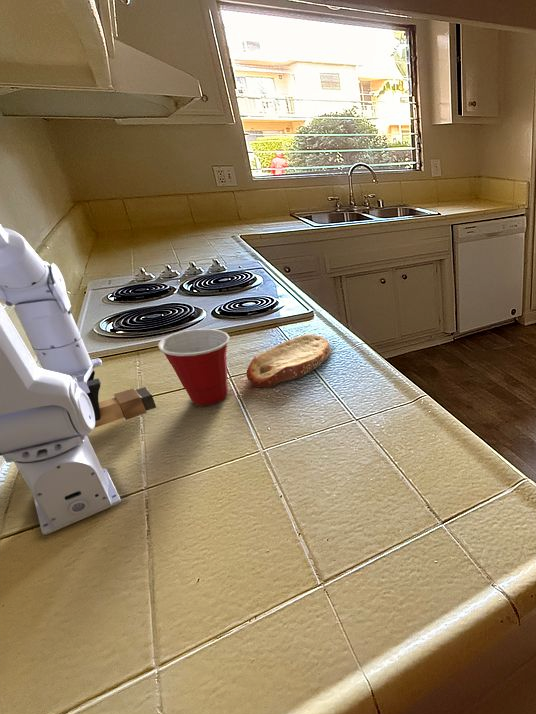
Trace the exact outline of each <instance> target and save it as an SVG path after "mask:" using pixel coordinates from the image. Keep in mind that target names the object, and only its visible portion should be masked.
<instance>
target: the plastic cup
mask: <svg viewBox="0 0 536 714" xmlns="http://www.w3.org/2000/svg"><path fill="white" fill-rule="evenodd" d="M230 339H231V337H230V335H229V334H228V333H227V332H225V331H223V330H220V329H213V328H194V329H188V330H183V331H182V330H181V331H179V332H176V333H172V334H169V335H167V336H165V337H164V338H162V339H161V340H160V341H159V342H158V344H157V346H158V349H159V351H160V352H162V353H163V354H164V356H165V357H166V359H167V361H168V362H169V364H170V365H171V367H172V369H173V370H174V372H175V374H176V376H177V378H178V380H179V381H180V383H181V386H182V387H183V390H185V392H186V393H187V395H188V397H189V399H190V400H191V401H192V402H193V404H194V405H197V406H202V407H203V406H211V405H214V404H217V403H219V402H221V401H223V400H224V399H226V398H227V396H228V391H229V389H228V388H229V387H228V364H227V363H228V361H227V360H228V359H227V352H228V351H227V349H228V343H229V342H230Z"/></svg>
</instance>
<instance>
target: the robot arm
mask: <svg viewBox="0 0 536 714" xmlns="http://www.w3.org/2000/svg"><path fill="white" fill-rule="evenodd" d="M0 300H1V302H2V303H3V304H4V305H5V306H7V307H12V306H14V307H13V310H14V311H15V312H14V313H15V314H16V316H17V318H18V320H19V323H20V325H21V327H22V329H23V331H24V333H25V336H26V337H27V341H28V342H29V344H30V346H31V348H32V350H33V352H34V354H35V357H36V359H37V360H38V363H39V365H40V367H39V366H38V364H37V363H36V361H35V359H34V357H33V356H32V354H31V352H30V351H29V348H28V347H27V346H26V344H25V341H24V340H23V339H22V337H21V335H20V333H19V332H18V330H17V328H16V327H15V325H14V323H13V322H12V320H11V319H10V317H9V315H8V313H7V311H6V310H5V308H4V306H3V305H2V303H1V302H0V457H1V456H2V458H3V459H4V461H5V462H6V463H7V464H8V463H14V465H15V466H16V468H17V470H18V472H19V473H20V475H21V477H22V478H23V479H22V480H23V481H24V482H25V484H26V486H27V487H28V490H29V491H30V493H31V495H32V497H33V502H34V505H35V510H36V514H37V519H38V523H39V526H40V527H39V528H40V531H41V533H42V535H45V536H46V535H49V534H53V533H54V532H56V531H59V530H61V529H63V528H66V527H68V526H70V525H73V524H75V523H78V522H79V521H81V520H84V519H86V518H89V517H91V516H93V515H95V514H97V513H100V512H103V511H104V510H107V509H110V508H112V507H114V506H116V505H118V504H120V503H121V502H122V499H121V497H120V494H119V493H118V491H117V488H116V486H115V485H114V482H113V480H112V478H111V476H110V474H109V472H108V469H107V468H103V467H102V465H101V462H100V461H99V458H98V456H97V454H96V452H95V450H94V448H93V446H92V442H91V441H90V439H89V437H88V436H89V435H91V434H92V432H93V430H94V429H95V428H96V427H95V421H97V420H100V418H101V416H100V408H99V394H100V393H99V392H100V390H101V383H102V382H101V380H100V378H99V377H98V378H95V375H96V373H95V372H96V371H95V368H97V367H101V366H102V365H103V362H102V360H101V358H99V357H98V358H97V357H96V358H90V355H89V352H88V350H87V348H86V346H85V342H84V340H83V338H82V336H81V333H80V331H79V328H78V326H77V324H76V320H75V319H74V317H73V314H72V312H71V308H72V304H71V300H70V298H69V295H68V293H67V286H66V282H65V279H64V276H63V274H62V273H61V271H60V269H59V267H58V265H56V264H55V263H51V264H50V263H49V262H48V261H46V260H43V259H42V258H41V257H40V256H39V254H38V253H36V251H35V249H33V247H32V246H31V245H30V244H29V243H28V241H27V240H26V239H25V238H24V237H23V235H21V234H20V233H19V232H17V231H15V230H13V229H11V228H7V227H3V226H2V224H0ZM94 427H95V428H94Z"/></svg>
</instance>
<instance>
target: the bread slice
mask: <svg viewBox="0 0 536 714" xmlns="http://www.w3.org/2000/svg"><path fill="white" fill-rule="evenodd" d="M331 350H332V349H331V345H330V343H329V341H328V340H327V339H325V337H323V336H321V335H316V334H311V333H310V334H303V335H299V336H296V337H294V338H293V339H292V338H291V339H288V340H287V341H284V342H282V343H279V344H278V345H275V346H274V347H271V348H270V349H267V350H266V351H264V352H262V353H259V354H258V355H257V356H254V357H253V359H252V360H251V361H250V363H249V364H248V366H247V369H246V378H247V380H248V381H249V382H250V384H251V385H252V386H253V387H256V388H268V387H269V388H271V387H275V385H277V384H278V385H279V384H281V383H284V382H290V381H293V380H296V379H297V380H298V379H300V378H302V377H304V376H306V375H307V374H310V373H311V372H313V371H314V370H316V369H318V368H319V367H321V365H322V363H324V362H325V361H326V360H328V358H329V356H330V353H331Z"/></svg>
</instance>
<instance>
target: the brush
mask: <svg viewBox="0 0 536 714" xmlns="http://www.w3.org/2000/svg"><path fill="white" fill-rule="evenodd" d="M98 402H99V401H98ZM99 408H100V416H101V418H100V420H97V421H95V427H94V429H95V428H97V427H101V426H104V425H106V424H107V425H108V424H109V423H113V422H115V421H119V420H122V419H125V420H126V421H127V420H131V419H133V418H136V417H139V416H142V415H145V414H147V411H149V410H153V409H156V408H157V405H156V401H155V399H154V397H153V395H152V393H151V391H150V390H149V389H148V388H147V386H143V387H140V388H137V389H135V388H130V389H127V390H123V391H120V392H117V393H114V394H113V398H109V399H106V400H103V401H100V402H99Z"/></svg>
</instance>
